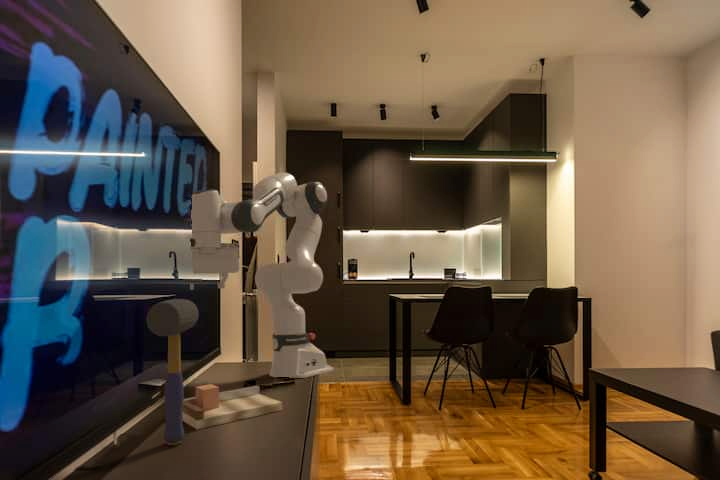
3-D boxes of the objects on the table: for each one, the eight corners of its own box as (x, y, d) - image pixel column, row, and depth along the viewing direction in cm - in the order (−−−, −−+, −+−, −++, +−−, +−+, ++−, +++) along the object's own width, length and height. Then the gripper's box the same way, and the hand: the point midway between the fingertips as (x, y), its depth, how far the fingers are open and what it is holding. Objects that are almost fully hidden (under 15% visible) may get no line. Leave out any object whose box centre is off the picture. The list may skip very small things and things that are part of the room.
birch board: (256, 400, 134) (256, 385, 135) (282, 410, 123) (281, 394, 124) (176, 416, 120) (176, 400, 121) (197, 429, 110) (196, 411, 110)
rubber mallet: (180, 454, 94) (180, 300, 97) (142, 455, 94) (143, 301, 97) (202, 433, 107) (201, 297, 109) (168, 434, 107) (168, 298, 109)
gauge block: (211, 403, 124) (211, 384, 124) (218, 407, 120) (218, 387, 121) (195, 406, 122) (195, 386, 122) (203, 410, 118) (203, 390, 118)
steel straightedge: (256, 392, 134) (256, 385, 135) (259, 393, 133) (259, 386, 133) (176, 408, 121) (176, 400, 121) (178, 409, 119) (178, 401, 120)
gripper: (233, 244, 154) (234, 287, 153) (167, 242, 141) (168, 290, 140) (242, 242, 149) (243, 287, 148) (175, 241, 136) (175, 290, 135)
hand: (206, 289), depth 144 cm, fingers open, 8 cm apart
